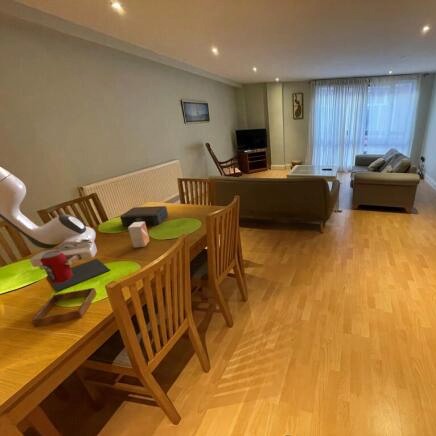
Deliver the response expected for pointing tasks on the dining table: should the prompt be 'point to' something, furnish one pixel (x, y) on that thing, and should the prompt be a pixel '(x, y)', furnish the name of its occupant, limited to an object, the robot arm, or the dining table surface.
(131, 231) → the small box
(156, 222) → the cash box
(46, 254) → the beverage can
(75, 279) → the rubber mat
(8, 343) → the dining table surface
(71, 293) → the brown wooden frame
